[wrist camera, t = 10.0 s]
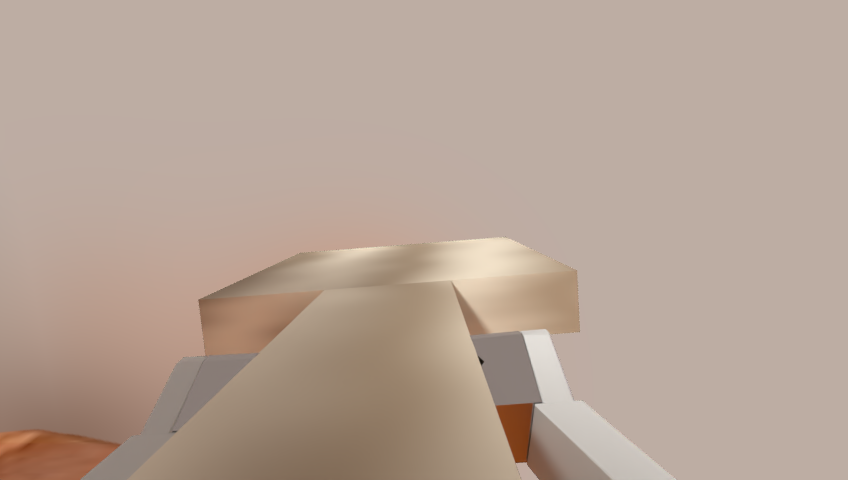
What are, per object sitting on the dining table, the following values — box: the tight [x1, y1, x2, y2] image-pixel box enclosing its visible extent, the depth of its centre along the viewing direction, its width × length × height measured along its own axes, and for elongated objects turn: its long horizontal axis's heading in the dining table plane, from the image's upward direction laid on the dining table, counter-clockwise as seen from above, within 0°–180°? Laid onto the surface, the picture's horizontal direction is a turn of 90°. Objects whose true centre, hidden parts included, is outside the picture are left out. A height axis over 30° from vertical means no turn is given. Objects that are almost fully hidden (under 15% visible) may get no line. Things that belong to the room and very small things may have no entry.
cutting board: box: [127, 237, 580, 480], centre depth 14 cm, size 12×24×2 cm, turn 0°
